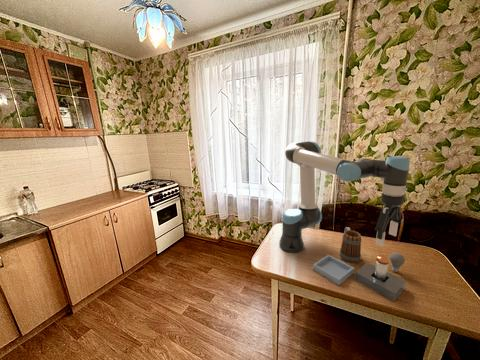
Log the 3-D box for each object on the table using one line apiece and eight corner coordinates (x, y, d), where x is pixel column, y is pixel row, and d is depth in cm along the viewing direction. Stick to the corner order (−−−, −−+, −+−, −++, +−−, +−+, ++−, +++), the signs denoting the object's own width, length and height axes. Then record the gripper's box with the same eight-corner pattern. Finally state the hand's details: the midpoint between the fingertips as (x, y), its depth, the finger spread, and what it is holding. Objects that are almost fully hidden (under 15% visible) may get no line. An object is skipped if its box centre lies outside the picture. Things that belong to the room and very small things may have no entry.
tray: (312, 269, 104) (312, 264, 103) (328, 259, 111) (328, 254, 110) (338, 285, 92) (338, 280, 92) (353, 273, 100) (354, 268, 99)
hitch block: (354, 279, 96) (355, 272, 95) (366, 269, 102) (367, 262, 101) (394, 301, 83) (395, 293, 82) (404, 288, 89) (406, 281, 88)
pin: (371, 283, 93) (375, 257, 90) (375, 279, 95) (379, 253, 92) (382, 288, 89) (386, 262, 86) (386, 284, 92) (390, 258, 89)
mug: (363, 264, 106) (366, 239, 102) (342, 262, 108) (344, 237, 105) (353, 247, 121) (356, 225, 117) (335, 246, 123) (337, 224, 119)
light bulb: (400, 268, 102) (403, 251, 99) (404, 276, 96) (407, 258, 94) (386, 266, 104) (388, 249, 102) (389, 273, 99) (392, 255, 96)
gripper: (391, 202, 72) (383, 254, 77) (414, 190, 86) (407, 234, 91) (369, 197, 78) (363, 245, 83) (394, 186, 92) (388, 228, 97)
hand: (386, 239), depth 87 cm, fingers open, 13 cm apart
